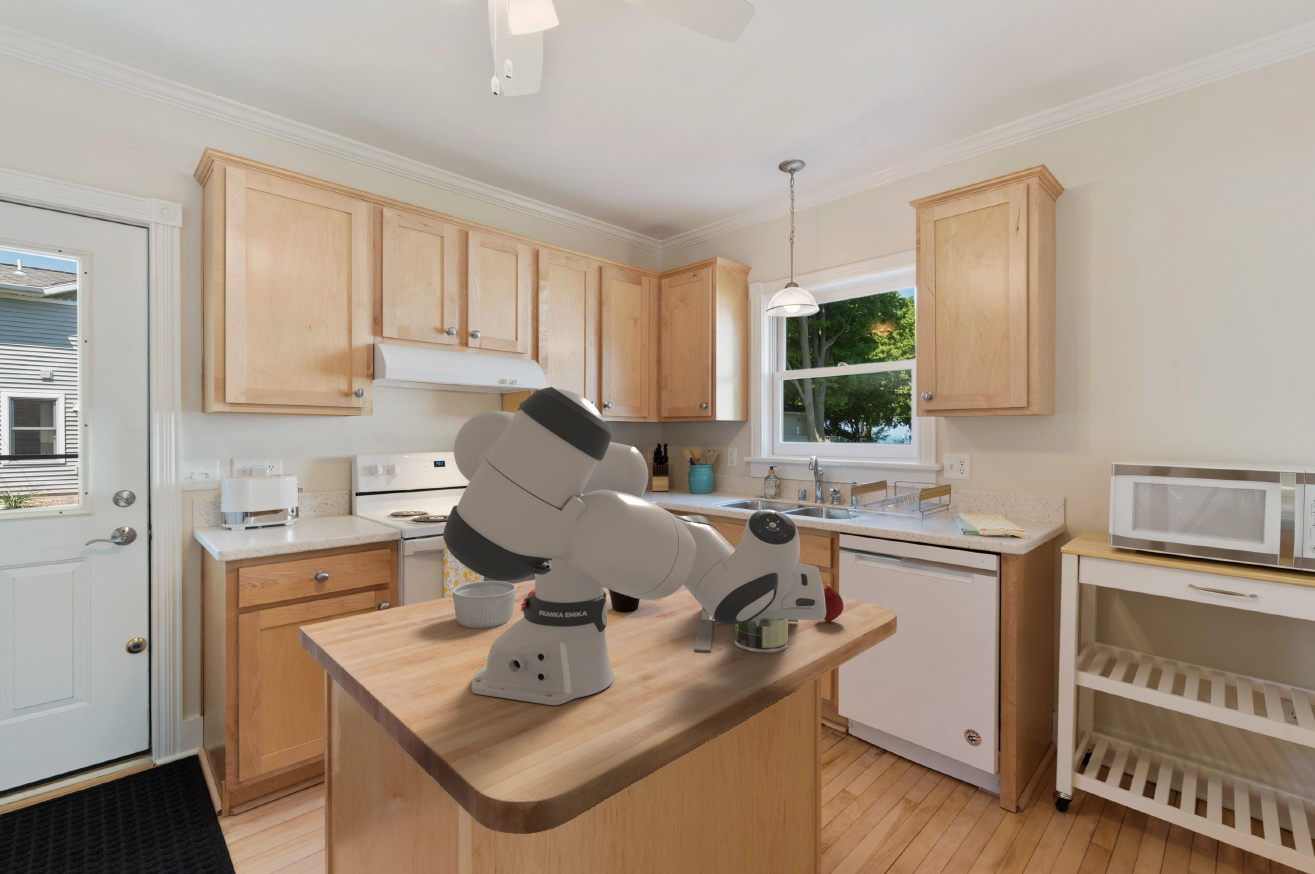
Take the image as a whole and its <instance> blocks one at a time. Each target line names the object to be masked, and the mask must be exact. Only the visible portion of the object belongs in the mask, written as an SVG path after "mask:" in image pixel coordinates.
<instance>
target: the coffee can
mask: <svg viewBox="0 0 1315 874" xmlns="http://www.w3.org/2000/svg"><path fill="white" fill-rule="evenodd" d="M788 635H789V622H788V619H779V620H778V621H776V622H774V623H773V627H765V626H756V622H755V621H753V620H751V621H749V622H746V623H742V624H734V640H733V642H734V644H735V646H736V647H738V648H740V649H742V650H745V651H747V652H751V653H758V654H759V653H761V654H771V653H773V654H774V653H779V652H783V651H784V650H786V649H788V647H789V636H788Z"/></svg>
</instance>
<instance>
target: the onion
mask: <svg viewBox="0 0 1315 874" xmlns="http://www.w3.org/2000/svg"><path fill="white" fill-rule="evenodd" d="M824 587H825V588H824V595H825V604H826V617H825V618H824V621H825V622H827V623H831V622H833V621H834V620H836V619H837V618H838V617H839V616H841V614H842V613H843V612H844V611H843V610H844V601H843V598H842V597H841V595H840V594H839V592H838V591H837V590H835V589H834V587H832V586H831V585H830V584H829V583H825V586H824Z"/></svg>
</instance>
